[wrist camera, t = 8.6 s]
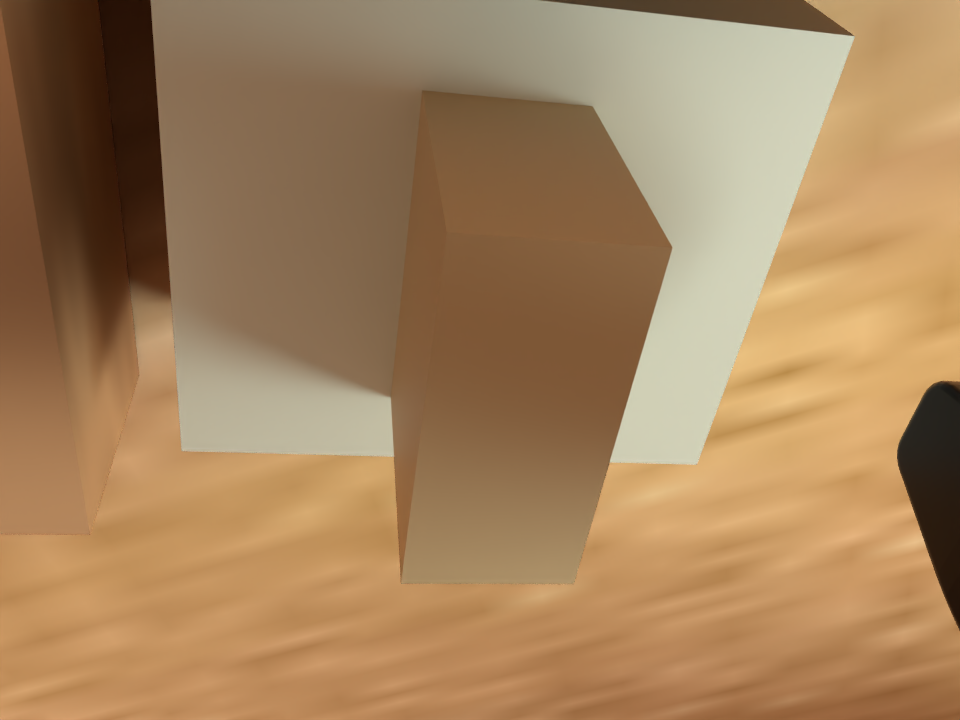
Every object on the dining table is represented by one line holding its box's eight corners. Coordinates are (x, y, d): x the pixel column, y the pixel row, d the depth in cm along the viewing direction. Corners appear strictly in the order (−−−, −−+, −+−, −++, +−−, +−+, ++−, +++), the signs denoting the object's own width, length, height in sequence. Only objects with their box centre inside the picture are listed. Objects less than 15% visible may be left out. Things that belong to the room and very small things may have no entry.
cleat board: (1192, 409, 18) (1398, 588, 15) (7, 370, 15) (-105, 595, 11) (1618, -162, 12) (2129, -96, 9) (-170, -459, 9) (-529, -557, 5)
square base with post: (635, 325, 16) (774, 642, 11) (214, 303, 15) (138, 648, 9) (740, -45, 12) (1024, 156, 7) (198, -114, 11) (65, 68, 6)
